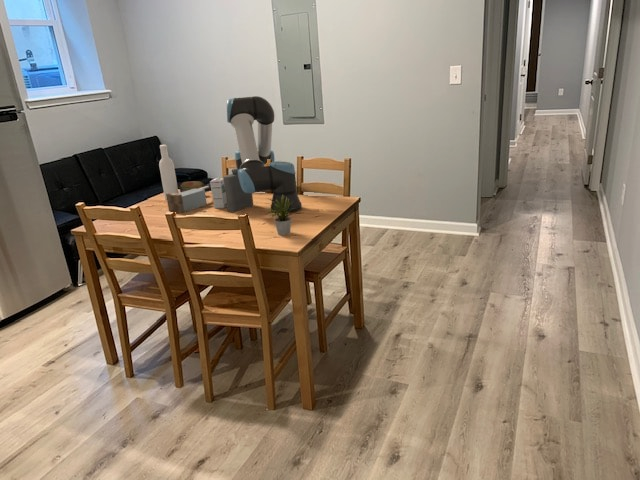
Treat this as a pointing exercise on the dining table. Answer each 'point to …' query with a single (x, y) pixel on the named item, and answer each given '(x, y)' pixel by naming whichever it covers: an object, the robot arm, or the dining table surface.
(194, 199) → the slate block
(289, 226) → the house plant
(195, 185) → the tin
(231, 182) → the flask
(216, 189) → the syrup box
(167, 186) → the bottle
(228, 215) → the dining table surface
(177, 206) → the walnut board
